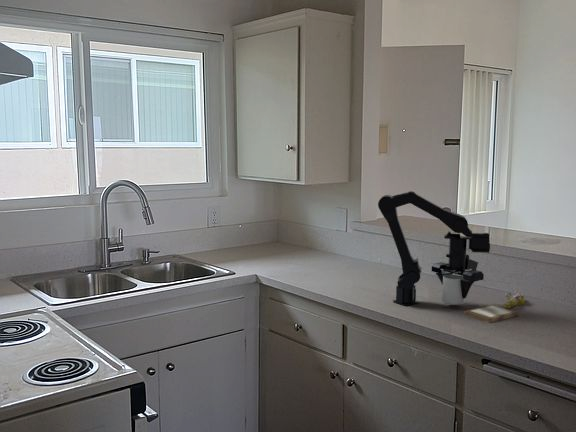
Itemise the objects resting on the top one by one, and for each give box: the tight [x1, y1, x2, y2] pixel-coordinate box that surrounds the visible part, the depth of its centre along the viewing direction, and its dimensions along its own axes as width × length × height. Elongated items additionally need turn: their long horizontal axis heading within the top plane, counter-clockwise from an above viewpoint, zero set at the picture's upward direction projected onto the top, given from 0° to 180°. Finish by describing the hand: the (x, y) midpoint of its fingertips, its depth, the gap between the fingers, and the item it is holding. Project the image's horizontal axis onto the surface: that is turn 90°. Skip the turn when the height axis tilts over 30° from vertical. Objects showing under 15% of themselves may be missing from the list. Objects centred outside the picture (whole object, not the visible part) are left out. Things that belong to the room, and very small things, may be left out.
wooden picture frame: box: [463, 304, 519, 323], centre depth 189 cm, size 14×10×1 cm
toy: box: [504, 290, 526, 309], centre depth 202 cm, size 5×5×15 cm
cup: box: [441, 274, 465, 306], centre depth 199 cm, size 7×10×9 cm
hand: (455, 295), depth 199 cm, fingers closed on cup, 7 cm apart
